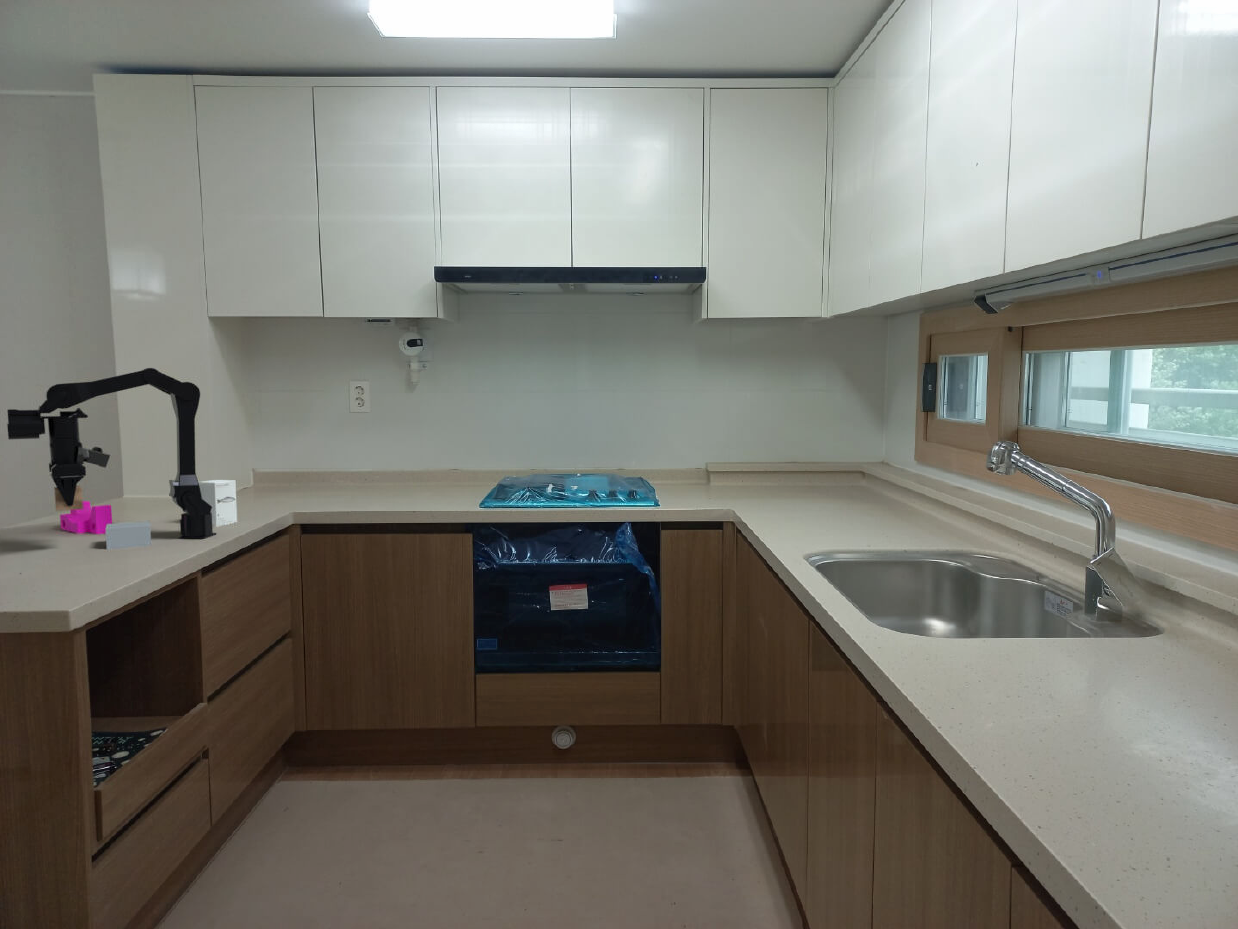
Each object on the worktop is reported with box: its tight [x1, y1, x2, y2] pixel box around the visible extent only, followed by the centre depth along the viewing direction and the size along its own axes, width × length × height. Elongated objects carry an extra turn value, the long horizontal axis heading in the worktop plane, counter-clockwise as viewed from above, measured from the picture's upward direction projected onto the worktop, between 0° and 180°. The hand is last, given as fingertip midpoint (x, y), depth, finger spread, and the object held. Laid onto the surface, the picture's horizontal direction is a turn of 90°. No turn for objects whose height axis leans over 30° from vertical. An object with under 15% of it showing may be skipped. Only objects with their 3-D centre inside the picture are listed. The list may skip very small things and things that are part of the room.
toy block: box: [59, 500, 113, 535], centre depth 202 cm, size 15×6×8 cm, turn 57°
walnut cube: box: [53, 485, 84, 512], centre depth 177 cm, size 5×5×5 cm
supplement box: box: [198, 479, 238, 528], centre depth 211 cm, size 7×7×13 cm
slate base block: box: [105, 520, 152, 550], centre depth 185 cm, size 9×9×5 cm
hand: (69, 504), depth 177 cm, fingers closed on walnut cube, 5 cm apart
